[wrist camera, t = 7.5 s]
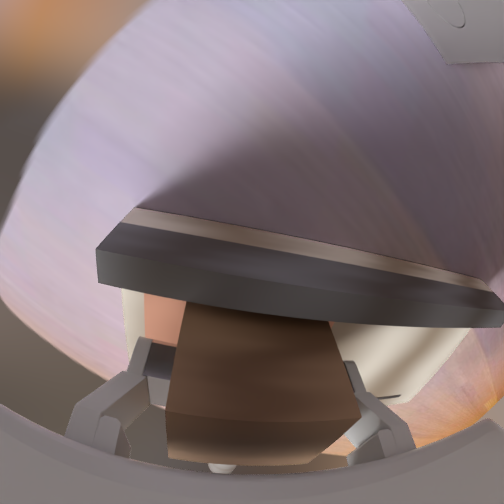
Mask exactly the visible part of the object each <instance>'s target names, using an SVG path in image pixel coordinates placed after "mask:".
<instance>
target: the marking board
mask: <svg viewBox="0 0 504 504" xmlns="http://www.w3.org/2000/svg"><path fill="white" fill-rule="evenodd" d="M96 262H97V274H98V283H101V284H105V285H110V286H114V287H118V288H121V292H122V305H123V317H124V326H125V335H126V343H127V351H128V357H129V362H130V359H131V356H132V353H133V350H134V347H135V345H136V342H137V339H138V338H139V336H141V337H146V338H150V339H155V340H159V341H163V342H168V343H173V344H177V343H178V338H179V333H180V329H181V324H182V319H183V315H184V310H185V306H186V301H187V302H193V303H198V304H204V305H210V306H216V307H222V308H228V309H235V310H242V311H248V312H255V313H263V314H270V315H278V316H286V317H294V318H303V319H312V320H322V321H328V322H329V325H330V327H331V330H332V333H333V335H334V338H335V341H336V343H337V346H338V349H339V352H340V354H341V357H342V360H344V361H354V362H355V363H356V365H357V368H358V370H359V373H360V376H361V378H362V381H363V383H364V386H365V389H366V391H367V392H370V393H372V394H373V395H374V396H375V397H376V398H377V399H379V400H380V401H381V402H382V403H383V404H384V405H386V406H388V405H394V404H401V403H406V402H409V401H410V400H411V399H412V398H413V397H414V396H415V395H416V394H417V393H418V392H419V391H420V390H421V389H422V388H423V387H424V386H425V384H426V383H427V382H428V381H429V380H430V379H431V378H432V377H433V376H434V375H435V373H436V372H437V371H438V370H439V369H440V368H441V366H442V365H443V364H444V363H445V362H446V360H447V359H448V358H449V357H450V355H451V354H452V353H453V352H454V350H455V349H456V348H457V346H458V345H459V344H460V342H461V341H462V340H463V338H464V337H465V336H466V334H467V333H468V331H469V330H470V329H471V328H496V327H501V326H502V325H503V323H504V303H503V302H502V301H501V299H500V298H499V297H498V296H497V295H496V294H495V293H494V292H493V291H492V290H491V289H490V288H489V287H488V286H487V285H486V284H485V283H484V282H483V281H482V280H481V279H478V278H474V277H470V276H466V275H462V274H458V273H454V272H450V271H446V270H442V269H438V268H434V267H430V266H425V265H421V264H417V263H413V262H408V261H404V260H400V259H396V258H391V257H387V256H382V255H378V254H373V253H369V252H364V251H360V250H355V249H351V248H346V247H341V246H337V245H332V244H327V243H323V242H318V241H313V240H308V239H303V238H298V237H293V236H288V235H283V234H278V233H273V232H268V231H263V230H258V229H253V228H248V227H242V226H237V225H232V224H226V223H221V222H216V221H210V220H205V219H199V218H194V217H188V216H182V215H177V214H171V213H165V212H159V211H153V210H147V209H141V208H135V207H134V208H133V209H132V210H131V211H130V212H129V213H128V214H127V215H126V216H125V217H124V218H123V219H122V220H121V222H120V223H119V224H118V225H117V226H116V227H115V228H114V229H113V230H112V231H111V232H110V233H109V234H108V236H107V237H106V238H105V239H104V240H103V241H102V242H101V243H100V245H99V246H98V247H97V248H96Z"/></svg>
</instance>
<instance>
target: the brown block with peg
mask: <svg viewBox="0 0 504 504" xmlns="http://www.w3.org/2000/svg"><path fill="white" fill-rule="evenodd" d="M165 417H166V432H167V445H168V456H169V458H173V459H180V460H186V461H194V462H202V463H208V466H209V468H210V470H211V471H212V472H214V473H222V474H229V473H231V472H232V470H234V468H235V467H236V466H237V465H246V466H270V465H295V464H306V463H308V462H310V461H311V460H312V459H314V458H315V457H316V456H317V455H319V454H320V453H321V452H323V451H324V450H325V449H326V448H328V447H329V446H330V445H331V444H333V443H334V442H335V441H336V440H337V439H338V438H340V437H341V436H342V435H343V434H344V433H345V432H346V431H348V430H349V429H350V428H351V427H352V426H353V425H354V424H355V423H356V422H357V421H358V420H360V419H361V418H362V416H361V413H360V410H359V407H358V404H357V401H356V398H355V395H354V392H353V389H352V386H351V383H350V380H349V377H348V374H347V371H346V368H345V366H344V363H343V360H342V357H341V354H340V352H339V349H338V346H337V343H336V341H335V338H334V335H333V333H332V330H331V327H330V325H329V322H328V321H322V320H312V319H303V318H294V317H286V316H278V315H270V314H263V313H255V312H248V311H242V310H235V309H228V308H222V307H216V306H210V305H204V304H198V303H193V302H187V301H186V306H185V310H184V315H183V319H182V324H181V329H180V333H179V338H178V343H177V348H176V353H175V358H174V363H173V369H172V374H171V379H170V385H169V391H168V397H167V403H166V409H165Z"/></svg>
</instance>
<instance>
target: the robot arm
mask: <svg viewBox="0 0 504 504" xmlns="http://www.w3.org/2000/svg"><path fill="white" fill-rule="evenodd" d="M176 348H177V344H173V343H168V342H163V341H159V340H155V339H150V338H146V337H141V336H139V338H138V339H137V342H136V345H135V347H134V350H133V353H132V356H131V359H130V362H129V365H128V369H127V372H126V371H122V372H120V373H119V374H117V375H116V376H115V377H113V378H112V379H110V380H109V381H108V382H106V383H105V384H103V385H102V386H101V387H99V388H98V389H96V390H95V391H93V392H92V393H91V394H89V395H88V396H86V397H85V398H84V399H82V400H81V401H79V402H78V403H76V404H75V407H74V410H73V412H72V415H71V418H70V421H69V424H68V427H67V430H66V433H65V436H61V435H59V434H57V433H55V432H52V431H50V430H48V429H46V428H44V427H42V426H40V425H38V424H36V423H34V422H32V421H30V420H28V419H26V418H24V417H22V416H21V415H19V414H17V413H15V412H14V411H12V410H10V409H9V408H7V407H5V406H3V405H2V404H0V504H504V429H503V428H502V427H501V426H500V425H498V424H497V423H496V422H495V421H493V420H491V419H488V418H487V419H484V420H482V421H480V422H478V423H476V424H474V425H472V426H470V427H468V428H466V429H463V430H461V431H459V432H457V433H455V434H452V435H450V436H448V437H445V438H443V439H441V440H438V441H436V442H433V443H430V444H428V445H425V446H422V447H419V448H416V446H415V443H414V440H413V438H412V435H411V433H410V430H409V427H408V425H407V423H406V422H404V421H403V420H402V419H401V418H400V417H398V416H397V415H396V414H395V413H394V412H393V411H391V410H390V409H389V408H388V407H387V406H386V405H384V404H383V403H382V402H381V401H380V400H379V399H377V398H376V397H375V396H374V395H373V394H372V393H370V392H367V391H366V389H365V386H364V383H363V381H362V378H361V376H360V373H359V370H358V368H357V365H356V363H355V362H354V361H344V360H343V363H344V366H345V368H346V371H347V374H348V377H349V380H350V383H351V386H352V389H353V392H354V395H355V398H356V401H357V404H358V407H359V410H360V413H361V416H362V418H361V419H360V420H358V421H357V422H356V423H355V424H354V425H353V426H352V427H351V428H350V429H349V430H348V431H346V432H345V433H344V435H345V436H346V437H347V438H348V439H349V440H350V442H351V443H352V444H353V445H354V446H355V447H356V449H355V450H354V451H352V452H351V453H350V454H348V456H347V462H348V467H341V468H335V469H328V470H321V471H313V472H303V473H291V474H269V475H268V474H267V475H245V474H222V473H210V472H199V471H191V470H184V469H177V468H170V467H165V466H160V465H155V464H150V463H146V462H141V461H137V460H133V459H130V453H131V447H130V444H129V442H128V440H127V437H126V435H125V432H124V430H125V429H126V428H127V427H128V426H129V425H130V424H131V423H132V422H133V421H134V420H135V419H136V418H137V417H138V416H139V415H140V414H141V413H142V412H143V411H144V410H145V409H146V408H147V407H148V406H149V405H150V404H155V405H161V406H166V403H167V397H168V391H169V385H170V379H171V374H172V369H173V363H174V358H175V353H176Z"/></svg>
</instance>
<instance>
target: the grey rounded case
mask: <svg viewBox="0 0 504 504" xmlns="http://www.w3.org/2000/svg"><path fill="white" fill-rule="evenodd" d="M401 1H402V2H403V3H404V4H405V6H406V7H407V8H408V9H409V11H410V12H411V13H412V14H413V16H414V17H415V18H416V19H417V21H418V22H419V23H420V25H421V26H422V27H423V29H424V30H425V32H426V33H427V35H428V36H429V37H430V39H431V40H432V42H433V43H434V45H435V46H436V48H437V49H438V51H439V53H440V54H441V56H442V58H443V59H444V61H445V63H446V64H447V65H450V64H463V63H504V0H401Z"/></svg>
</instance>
